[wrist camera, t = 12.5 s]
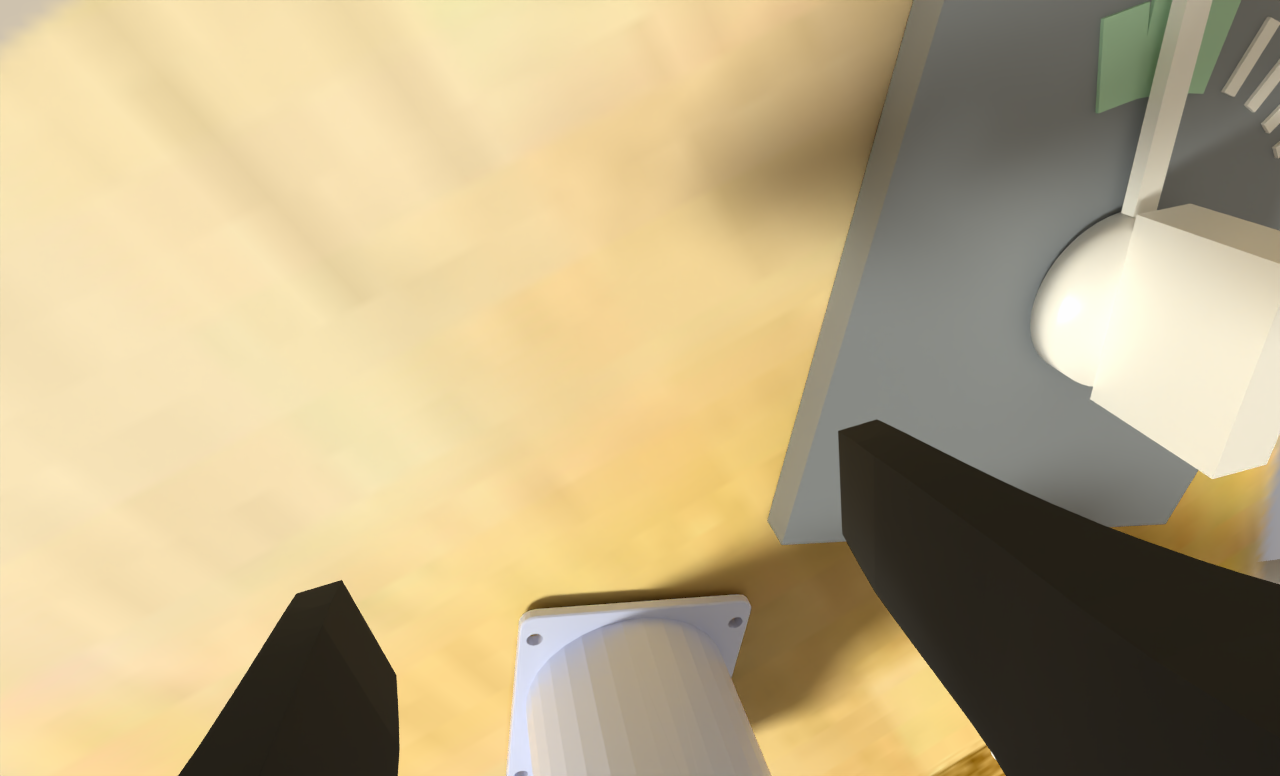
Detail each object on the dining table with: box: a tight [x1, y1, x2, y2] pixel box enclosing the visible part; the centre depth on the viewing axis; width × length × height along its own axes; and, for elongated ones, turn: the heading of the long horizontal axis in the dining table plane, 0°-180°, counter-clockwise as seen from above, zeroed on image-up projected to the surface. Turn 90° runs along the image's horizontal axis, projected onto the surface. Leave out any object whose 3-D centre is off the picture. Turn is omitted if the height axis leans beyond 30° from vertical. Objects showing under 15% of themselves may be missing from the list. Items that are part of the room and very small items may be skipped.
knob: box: [1030, 0, 1280, 479], centre depth 17 cm, size 11×5×5 cm, turn 6°
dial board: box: [767, 0, 1280, 545], centre depth 21 cm, size 18×16×1 cm
